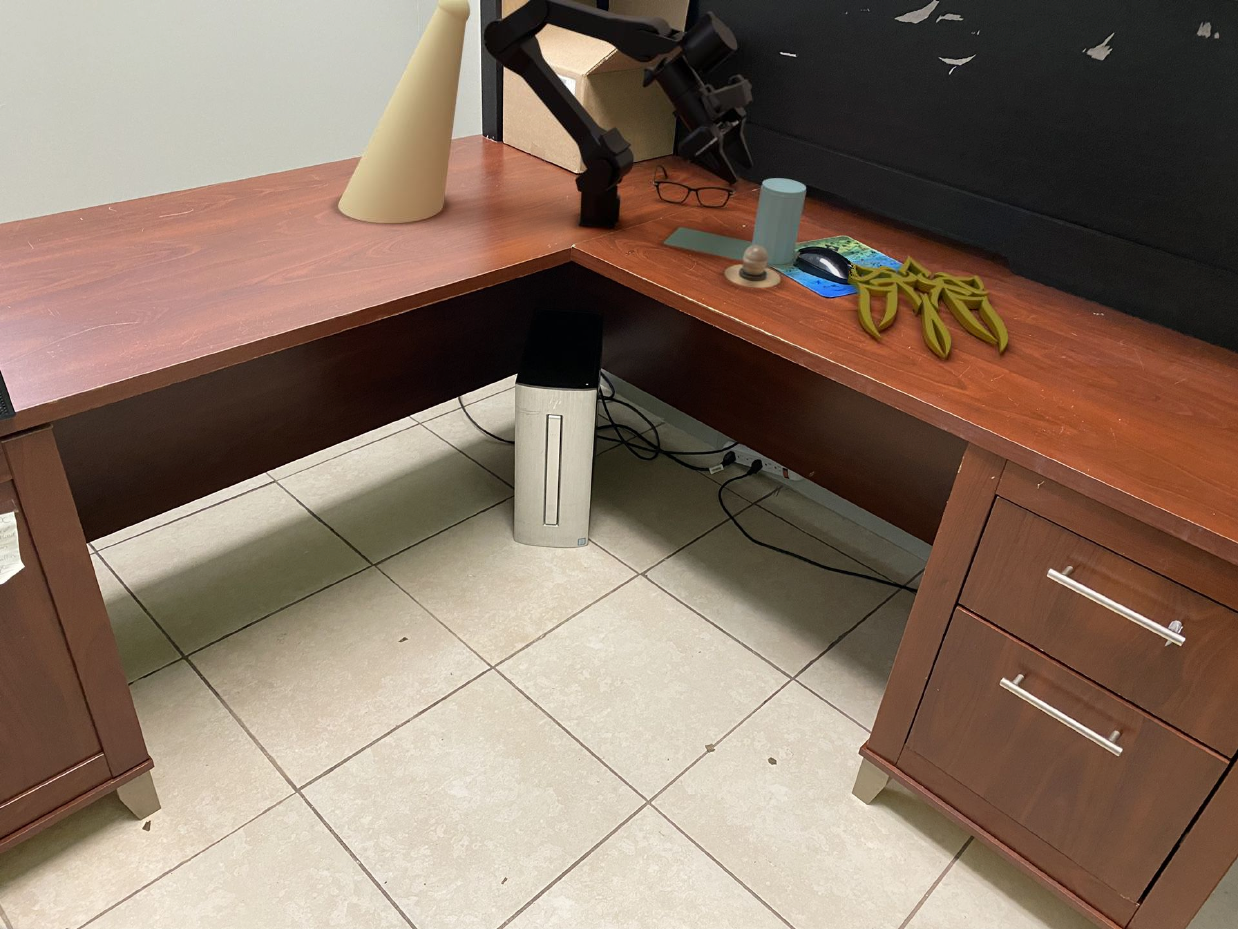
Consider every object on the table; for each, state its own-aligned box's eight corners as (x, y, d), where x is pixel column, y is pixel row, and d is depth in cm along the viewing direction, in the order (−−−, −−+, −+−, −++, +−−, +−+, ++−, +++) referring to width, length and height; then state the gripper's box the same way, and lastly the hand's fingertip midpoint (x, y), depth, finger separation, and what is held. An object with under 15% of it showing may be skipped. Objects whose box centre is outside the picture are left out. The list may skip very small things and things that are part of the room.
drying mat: (662, 245, 147) (662, 243, 147) (679, 229, 154) (679, 226, 154) (788, 273, 141) (788, 270, 141) (800, 254, 148) (800, 252, 148)
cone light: (320, 215, 148) (288, -16, 127) (361, 183, 163) (339, -30, 142) (460, 233, 146) (450, 0, 126) (489, 198, 161) (484, -15, 140)
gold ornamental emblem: (974, 261, 146) (1028, 361, 118) (971, 270, 147) (1024, 371, 119) (842, 247, 147) (865, 342, 119) (840, 256, 148) (862, 352, 120)
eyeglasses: (648, 201, 165) (650, 180, 163) (658, 176, 178) (660, 156, 176) (734, 211, 164) (737, 190, 161) (738, 185, 176) (741, 165, 174)
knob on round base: (725, 288, 135) (730, 254, 131) (722, 265, 142) (727, 232, 139) (783, 292, 135) (789, 259, 132) (776, 269, 142) (782, 237, 139)
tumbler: (756, 264, 142) (769, 191, 135) (746, 247, 148) (757, 177, 141) (797, 264, 143) (811, 192, 136) (785, 248, 149) (798, 178, 142)
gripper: (707, 69, 125) (768, 160, 128) (742, 49, 139) (796, 131, 142) (651, 117, 132) (711, 202, 135) (690, 93, 146) (743, 171, 149)
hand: (743, 175), depth 140 cm, fingers open, 9 cm apart
